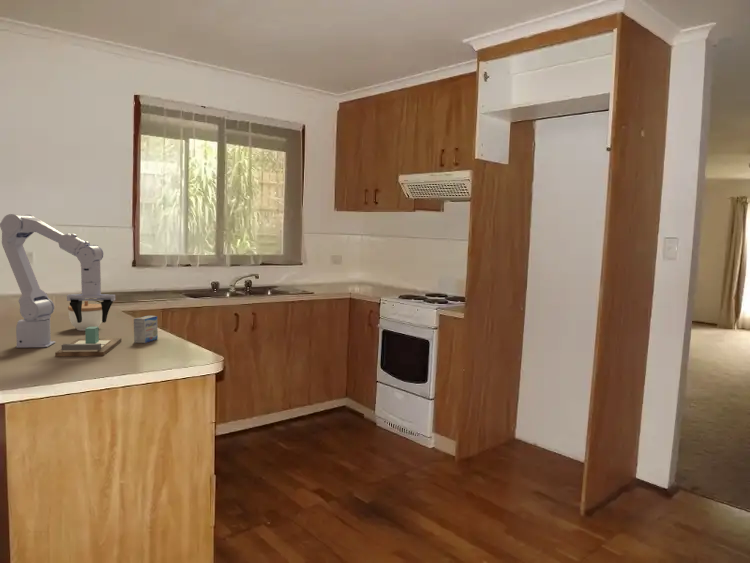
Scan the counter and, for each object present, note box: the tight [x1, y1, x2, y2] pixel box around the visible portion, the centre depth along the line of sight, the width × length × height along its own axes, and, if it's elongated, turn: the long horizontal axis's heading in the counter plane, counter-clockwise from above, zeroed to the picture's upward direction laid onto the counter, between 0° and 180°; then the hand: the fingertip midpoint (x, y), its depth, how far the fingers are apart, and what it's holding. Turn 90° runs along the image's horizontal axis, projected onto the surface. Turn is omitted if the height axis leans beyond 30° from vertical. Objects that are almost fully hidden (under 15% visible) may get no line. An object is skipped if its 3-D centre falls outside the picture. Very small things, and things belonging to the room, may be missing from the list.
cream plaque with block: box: [75, 326, 111, 345], centre depth 188 cm, size 10×6×5 cm, turn 101°
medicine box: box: [133, 315, 159, 344], centre depth 201 cm, size 8×4×9 cm, turn 168°
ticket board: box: [54, 337, 122, 357], centre depth 187 cm, size 14×22×1 cm, turn 11°
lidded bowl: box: [67, 301, 102, 331], centre depth 220 cm, size 13×13×11 cm
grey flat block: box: [61, 343, 105, 352], centre depth 181 cm, size 11×9×2 cm
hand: (92, 322), depth 188 cm, fingers open, 7 cm apart
